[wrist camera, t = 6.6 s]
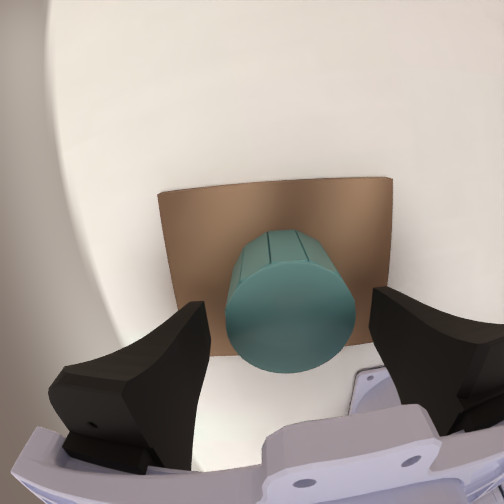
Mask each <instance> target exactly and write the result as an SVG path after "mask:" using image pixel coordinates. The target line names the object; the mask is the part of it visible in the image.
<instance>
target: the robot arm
mask: <svg viewBox="0 0 504 504" xmlns="http://www.w3.org/2000/svg"><path fill="white" fill-rule="evenodd" d="M368 328H369V331H370V334H371V337H372V340H373V342H374V345H375V347H376V349H377V351H378V353H379V355H380V357H381V359H382V361H383V363H384V365H385V367H383V368H378V369H372V370H367V371H362V372H360V373H358V374H357V376H356V380H355V386H354V391H353V396H352V401H351V405H350V410H349V415H347V416H341V417H334V418H327V419H319V420H311V421H304V422H300V423H296V424H292V425H287V426H284V427H283V428H281V429H279V430H278V431H276V432H274V433H273V434H271V435H269V436H268V437H266V440H265V442H264V444H263V447H262V464H258V465H252V466H247V467H241V468H234V469H227V470H219V471H211V472H197V471H191V462H192V448H193V436H194V427H195V418H196V411H197V405H198V400H199V396H200V392H201V388H202V385H203V381H204V377H205V374H206V370H207V366H208V362H209V357H210V349H211V335H210V330H209V325H208V319H207V314H206V308H205V302H204V301H190V302H189V303H187V304H186V305H185V306H183V307H182V308H181V309H180V310H179V311H177V312H176V313H175V314H174V315H173V316H171V317H170V318H169V319H168V320H167V321H165V322H164V323H163V324H161V325H160V326H159V327H157V328H156V329H155V330H153V331H152V332H150V333H149V334H148V335H146V336H144V337H143V338H141V339H139V340H138V341H136V342H134V343H133V344H131V345H129V346H127V347H124V348H122V349H120V350H118V351H116V352H114V353H111V354H109V355H106V356H103V357H100V358H97V359H94V360H91V361H87V362H83V363H79V364H75V365H70V366H65V367H64V368H63V370H62V371H61V372H60V374H59V375H58V376H57V378H56V379H55V380H54V382H53V383H52V385H51V386H50V388H49V391H48V395H49V399H50V402H51V404H52V406H53V408H54V409H55V411H56V413H57V414H58V416H59V417H60V419H61V420H62V421H63V423H64V424H65V426H66V427H67V428H68V430H69V431H70V432H69V434H68V436H67V438H66V437H64V436H63V435H61V434H60V433H57V432H55V431H52V430H49V429H46V428H43V427H40V426H37V427H36V429H35V430H34V432H33V434H32V435H31V437H30V439H29V440H28V442H27V443H26V445H25V447H24V449H23V450H22V452H21V454H20V455H19V457H18V459H17V461H16V462H15V464H14V466H13V468H12V470H11V474H12V475H13V476H14V477H15V478H16V479H18V480H19V481H20V482H21V483H22V484H23V485H24V486H25V487H27V488H28V489H29V490H30V491H31V492H32V493H34V494H35V495H36V496H37V497H38V498H40V499H41V500H42V501H43V502H45V503H46V504H504V324H493V323H485V322H478V321H473V320H469V319H464V318H461V317H457V316H454V315H451V314H448V313H445V312H442V311H439V310H437V309H435V308H432V307H430V306H427V305H425V304H423V303H421V302H419V301H417V300H415V299H413V298H411V297H409V296H407V295H405V294H403V293H401V292H398V291H396V290H394V289H392V288H389V287H386V286H383V287H374V288H373V292H372V302H371V310H370V319H369V326H368ZM369 376H370V377H369Z"/></svg>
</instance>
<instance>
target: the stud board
mask: <svg viewBox="0 0 504 504" xmlns="http://www.w3.org/2000/svg"><path fill="white" fill-rule="evenodd" d="M157 196H158V203H159V210H160V216H161V223H162V229H163V235H164V241H165V247H166V252H167V258H168V263H169V268H170V273H171V278H172V283H173V288H174V293H175V298H176V302H177V307H178V311H179V310H180V309H181V308H182V307H183V306H185V305H186V304H187V303H189V302H190V301H204V302H205V308H206V314H207V319H208V325H209V330H210V335H211V349H210V356H235V355H239V354H238V353H237V352H236V351H235V350H234V348H233V346H232V345H231V343H230V341H229V338H228V336H227V331H226V317H225V307H226V302H227V297H228V292H229V287H230V282H231V277H232V272H233V268H234V266H235V264H236V262H237V260H238V257H239V255H240V253H241V251H242V249H243V247H245V245H247V244H248V243H250V242H251V241H253V240H254V239H256V238H257V237H259V236H260V235H262V234H264V233H265V232H267V233H268V231H277V230H291V229H294V230H298V231H300V232H302V233H304V234H306V235H308V236H310V237H312V238H314V239H316V240H318V241H319V242H320V243H321V245H322V247H323V248H324V250H325V251H326V253H327V255H328V256H329V258H330V259H331V261H332V263H333V264H334V266H335V267H336V269H337V271H338V272H339V274H340V276H341V277H342V279H343V281H344V282H345V284H346V286H347V287H348V289H349V291H350V293H351V294H352V296H353V298H354V301H355V309H356V320H355V325H354V329H353V332H352V334H351V336H350V338H349V340H348V341H347V343H346V344H345V346H351V345H358V344H364V343H371V342H373V340H372V337H371V334H370V331H369V328H368V326H369V319H370V310H371V302H372V292H373V288H374V287H383V286H386V287H387V282H388V272H389V261H390V249H391V233H392V207H393V179H391V178H388V177H356V178H321V179H299V180H282V181H267V182H254V183H241V184H230V185H220V186H210V187H201V188H192V189H183V190H175V191H167V192H161V193H159V194H157Z"/></svg>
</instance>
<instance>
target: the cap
mask: <svg viewBox="0 0 504 504" xmlns="http://www.w3.org/2000/svg"><path fill="white" fill-rule="evenodd" d="M225 317H226V331H227V336H228V338H229V341H230V343H231V345H232V346H233V348H234V350H235V351H236V352H237V353H238V354H239V355H240V356H241V357H242V358H243V359H244V360H245V361H247V362H248V363H250V364H251V365H253V366H255V367H257V368H260V369H262V370H266V371H269V372H275V373H297V372H303V371H307V370H310V369H313V368H316V367H318V366H320V365H322V364H324V363H325V362H327V361H329V360H330V359H331V358H333V357H334V356H335V355H336V354H337V353H339V352H340V351H341V349H342V348H343V347H344V346H345V344H346V343H347V341H348V340H349V338H350V336H351V334H352V332H353V329H354V325H355V320H356V309H355V301H354V298H353V296H352V294H351V293H350V291H349V289H348V287H347V286H346V284H345V282H344V281H343V279H342V277H341V276H340V274H339V272H338V271H337V269H336V267H335V266H334V264H333V263H332V261H331V259H330V258H329V256H328V255H327V253H326V251H325V250H324V248H323V247H322V245H321V243H320V242H319V241H318V240H316V239H314V238H312V237H310V236H308V235H306V234H304V233H302V232H300V231H298V230H294V229H291V230H277V231H268V233H267V232H265V233H264V234H262V235H260V236H259V237H257V238H256V239H254V240H253V241H251V242H250V243H248V244H247V245H245V247H243V249H242V251H241V253H240V255H239V257H238V260H237V262H236V264H235V266H234V268H233V272H232V277H231V282H230V287H229V292H228V297H227V302H226V307H225Z"/></svg>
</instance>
